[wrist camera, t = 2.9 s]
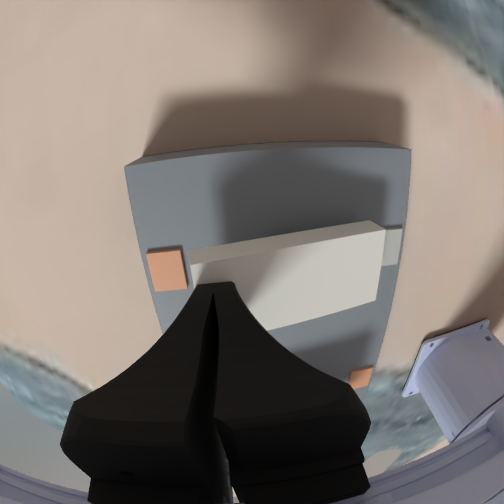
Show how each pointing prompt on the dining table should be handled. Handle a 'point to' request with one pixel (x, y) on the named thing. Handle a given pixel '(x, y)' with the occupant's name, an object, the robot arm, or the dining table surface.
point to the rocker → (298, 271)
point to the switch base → (275, 227)
